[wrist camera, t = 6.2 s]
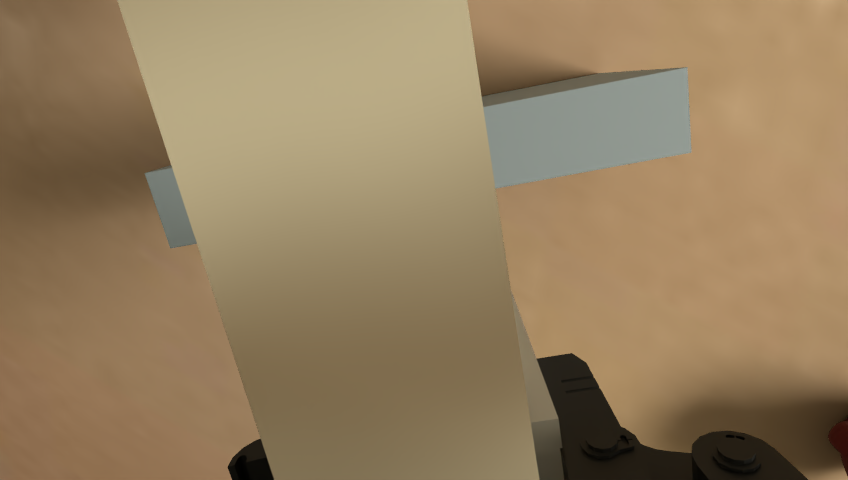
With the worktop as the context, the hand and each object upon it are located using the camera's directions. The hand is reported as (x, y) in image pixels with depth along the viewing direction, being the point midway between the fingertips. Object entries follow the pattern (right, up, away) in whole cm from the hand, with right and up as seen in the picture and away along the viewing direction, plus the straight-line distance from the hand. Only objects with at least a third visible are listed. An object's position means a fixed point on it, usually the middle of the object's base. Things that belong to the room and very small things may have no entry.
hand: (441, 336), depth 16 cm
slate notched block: (-1, +9, +13) cm, 16 cm away
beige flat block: (-1, +4, -1) cm, 5 cm away
